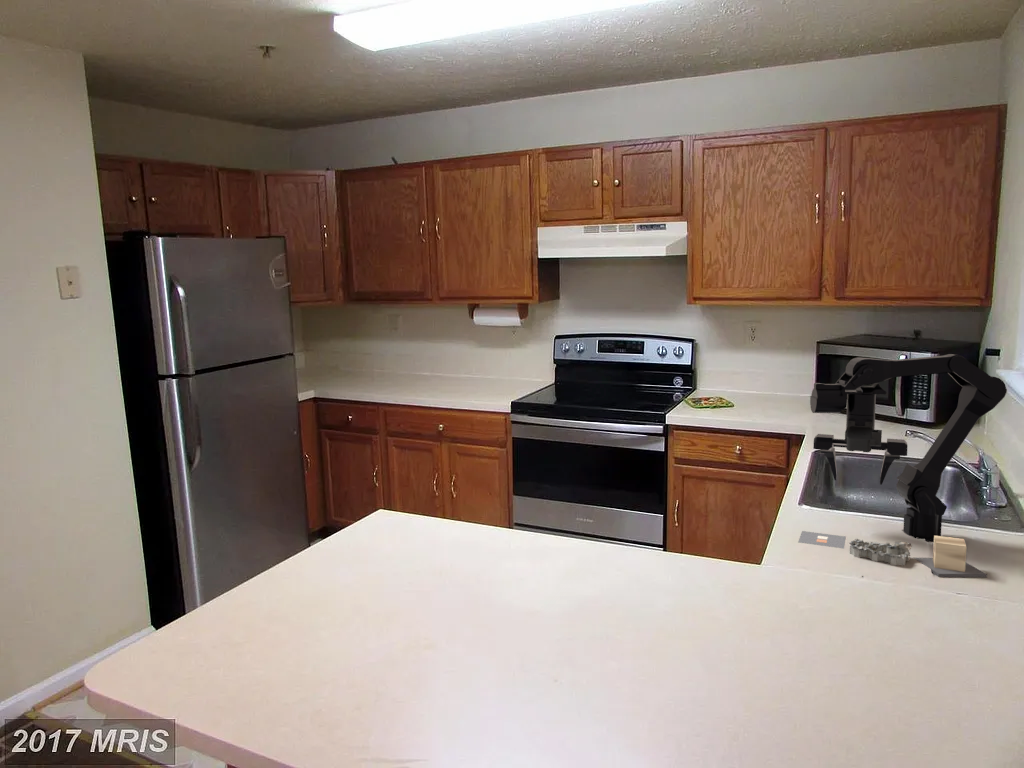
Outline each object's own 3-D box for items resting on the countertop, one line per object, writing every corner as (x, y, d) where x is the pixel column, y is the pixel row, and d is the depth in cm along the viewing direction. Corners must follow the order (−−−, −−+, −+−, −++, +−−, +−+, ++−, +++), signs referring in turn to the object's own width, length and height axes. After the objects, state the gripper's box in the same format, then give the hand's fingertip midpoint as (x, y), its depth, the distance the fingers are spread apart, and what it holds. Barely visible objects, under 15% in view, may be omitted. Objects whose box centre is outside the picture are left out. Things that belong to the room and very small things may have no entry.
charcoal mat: (957, 560, 141) (958, 557, 141) (986, 577, 132) (986, 574, 132) (912, 560, 142) (912, 557, 141) (938, 576, 133) (938, 573, 133)
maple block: (932, 559, 140) (934, 535, 140) (962, 563, 138) (963, 539, 137) (934, 567, 136) (935, 542, 135) (964, 571, 133) (966, 546, 133)
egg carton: (913, 563, 141) (915, 543, 141) (901, 572, 136) (902, 552, 135) (858, 550, 149) (859, 531, 148) (844, 558, 143) (845, 539, 143)
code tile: (802, 533, 159) (802, 530, 159) (845, 539, 155) (845, 536, 155) (797, 544, 152) (798, 542, 151) (843, 551, 147) (843, 548, 147)
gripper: (812, 415, 154) (810, 485, 155) (909, 421, 145) (906, 494, 146) (816, 409, 163) (814, 475, 165) (908, 414, 155) (904, 483, 156)
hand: (857, 482), depth 158 cm, fingers open, 9 cm apart
